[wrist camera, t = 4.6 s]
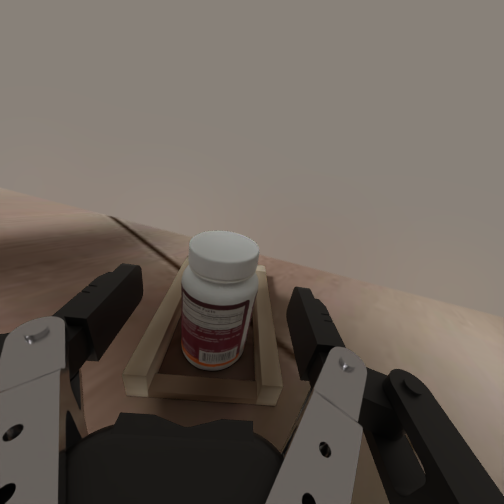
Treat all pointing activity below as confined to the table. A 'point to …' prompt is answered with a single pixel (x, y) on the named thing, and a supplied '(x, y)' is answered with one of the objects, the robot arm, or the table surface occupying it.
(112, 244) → the table surface
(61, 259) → the table surface
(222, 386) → the wooden rectangular frame
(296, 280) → the table surface
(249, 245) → the pill bottle
